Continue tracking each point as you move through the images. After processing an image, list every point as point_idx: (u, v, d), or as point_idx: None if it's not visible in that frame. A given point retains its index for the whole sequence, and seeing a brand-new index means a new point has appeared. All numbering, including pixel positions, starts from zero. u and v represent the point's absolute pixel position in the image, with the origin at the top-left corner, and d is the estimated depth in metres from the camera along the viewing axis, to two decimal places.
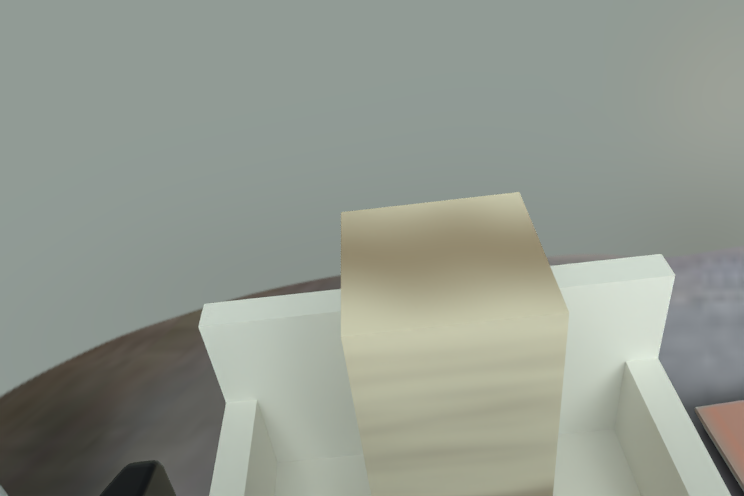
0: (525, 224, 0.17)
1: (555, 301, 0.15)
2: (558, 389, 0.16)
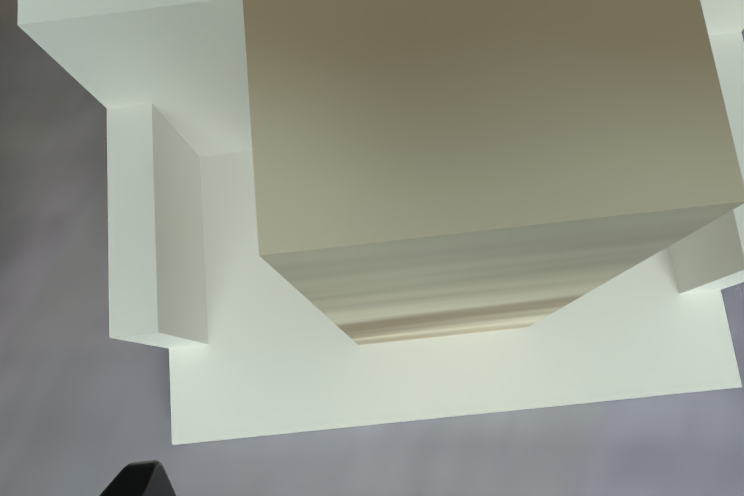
0: None
1: (720, 166, 0.07)
2: (651, 252, 0.09)
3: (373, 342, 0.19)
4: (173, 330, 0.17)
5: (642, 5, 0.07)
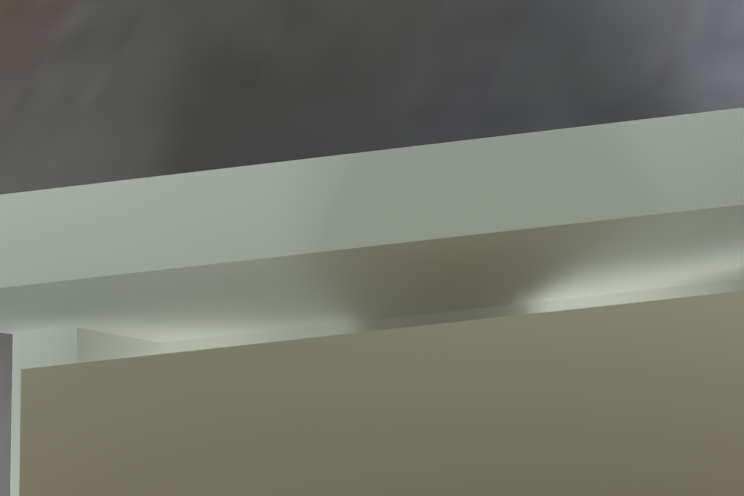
0: None
1: None
2: None
3: None
4: None
5: None
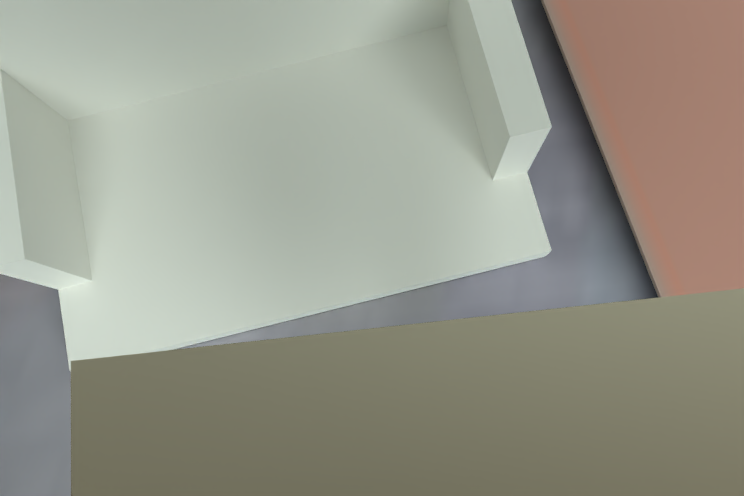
0: None
1: None
2: None
3: None
4: (44, 260, 0.20)
5: None
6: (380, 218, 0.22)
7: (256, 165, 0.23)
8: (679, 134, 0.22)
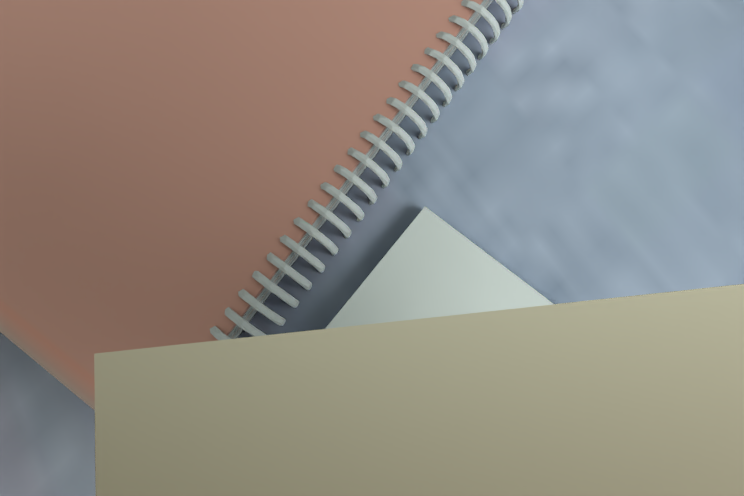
0: None
1: None
2: None
3: None
4: None
5: None
6: None
7: None
8: None
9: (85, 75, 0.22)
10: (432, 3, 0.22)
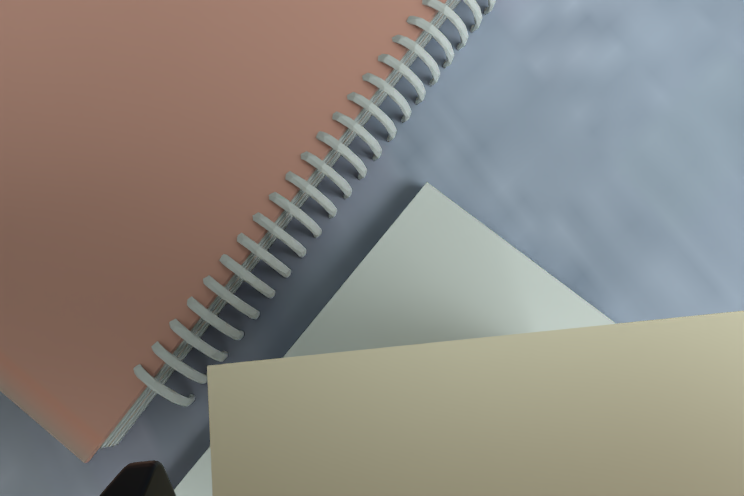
0: None
1: None
2: None
3: None
4: None
5: None
6: None
7: None
8: None
9: (31, 30, 0.19)
10: None
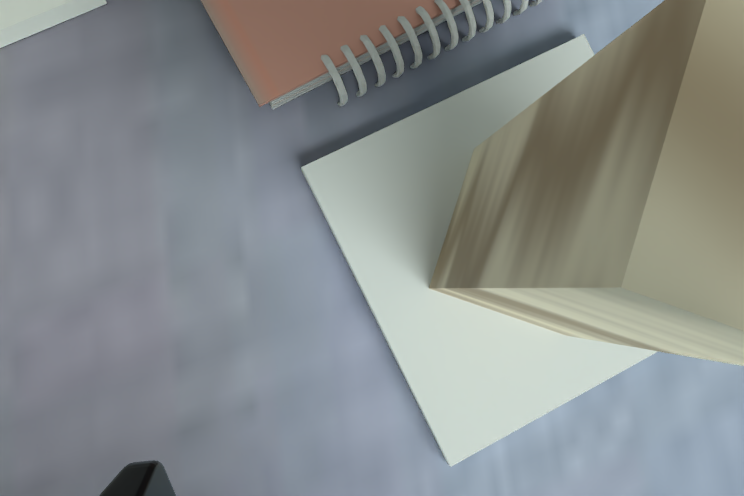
0: None
1: None
2: None
3: (444, 292, 0.22)
4: None
5: None
6: None
7: None
8: None
9: None
10: None
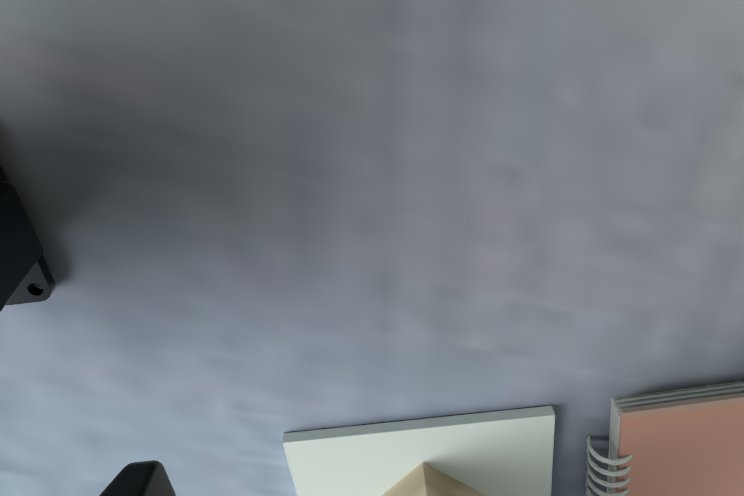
0: None
1: None
2: None
3: (416, 475, 0.27)
4: None
5: None
6: None
7: None
8: None
9: None
10: None
